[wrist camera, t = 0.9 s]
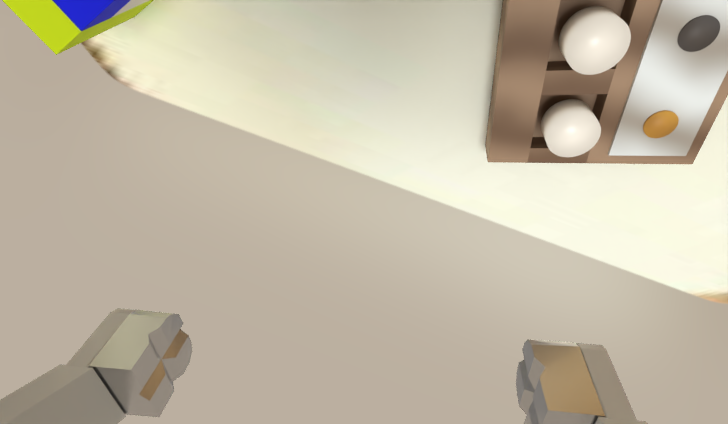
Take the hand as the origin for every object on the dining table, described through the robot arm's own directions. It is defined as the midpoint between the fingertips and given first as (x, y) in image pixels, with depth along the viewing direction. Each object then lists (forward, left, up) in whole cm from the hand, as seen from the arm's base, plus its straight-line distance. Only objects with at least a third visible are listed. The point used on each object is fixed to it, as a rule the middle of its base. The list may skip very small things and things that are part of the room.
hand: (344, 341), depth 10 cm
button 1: (+9, +13, -28) cm, 32 cm away
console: (+2, +15, -31) cm, 35 cm away
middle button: (+2, +13, -28) cm, 31 cm away
